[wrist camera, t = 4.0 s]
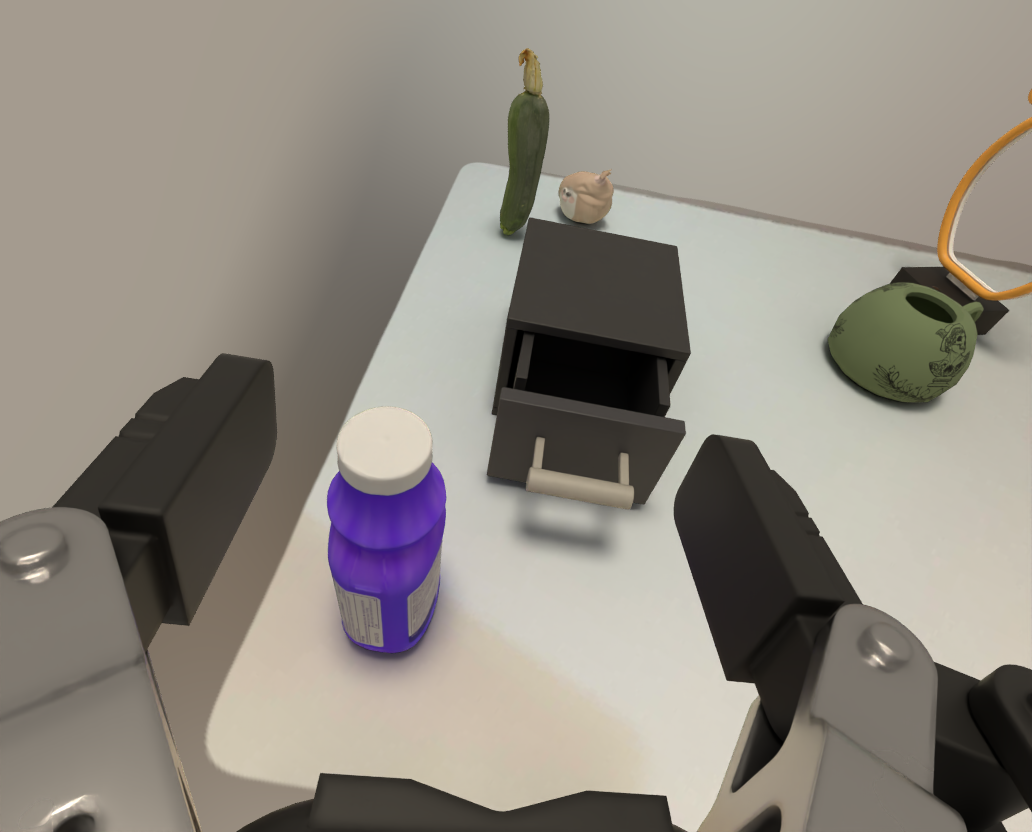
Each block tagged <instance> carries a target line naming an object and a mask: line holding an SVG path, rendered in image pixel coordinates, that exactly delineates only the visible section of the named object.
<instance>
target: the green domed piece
mask: <svg viewBox="0 0 1032 832" xmlns="http://www.w3.org/2000/svg"><path fill="white" fill-rule="evenodd" d="M982 311H983V307H982V305H981V303H979V302H973V303H969V304H967V305H965V306H963V307H962V306H961V305H960V304H959V303H957V302H956V301H954V300H953V299H951V298H949V297H948V296H946V295H945V294H943V293H940V292H938V291H936V290H934V289H931V288H929V287H926V286H922V285H918V284H914V283H899V282H898V283H893V284H887V285H885V286H882V287H879V288H877V289H875V290H873V291H871V292H869V293H866V294H865V295H863V296H862V297H860V298H859V299H857V300H855V301H854V302H853V303H852V304H851V305H850V306H849V307H848V308H847V309H846V310H844V311H843V312H842V313H841V314H840V316H839V318H838V319H837V321H836V323H835V325H834V327H833V329H832V331H831V333H830V336H829V338H828V343H829V348H830V352H831V355H832V357H833V358H834V360H835V362H836V363H837V364H838V366H839V367H840V368H841V370H842V371H843V372H844V374H845V375H847V376H848V377H849V378H850V379H852V380H853V381H854V382H855V383H857V384H858V385H859V386H861V387H863V388H865V389H867V390H869V391H870V392H872V393H874V394H876V395H878V396H881V397H885V398H889V399H892V400H896V401H901V402H929V401H930V400H932V399H934V398H935V397H937V396H939V395H941V394H942V393H944V392H945V391H947V390H948V389H950V388H951V387H953V386H955V385H956V384H957V383H958V381H959V380H960V379H961V377H962V376H963V374H964V373H965V371H966V370H967V369H968V367H969V365H970V362H971V359H972V357H973V354H974V349H975V344H976V340H977V335H978V334H977V329H976V325H975V321H976V320H977V319H978V318H979V317H980V315H981V313H982Z"/></svg>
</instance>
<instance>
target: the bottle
mask: <svg viewBox="0 0 1032 832" xmlns="http://www.w3.org/2000/svg"><path fill="white" fill-rule="evenodd" d="M337 454H338V468H339V472H338V473H337V474H336V476H335V477H334V478H333V480H332V482H331V484H330V487H329V490H328V495H327V508H328V514H329V518H330V520H331V527H330V532H329V542H328V561H329V566H330V569H331V573H332V577H333V581H334V585H335V590H336V594H337V599H338V603H339V608H340V612H341V617H342V625H343V628H344V631H345V633H346V635H347V636H348V638H349V639H350V640H352V641H353V642H354V643H355V644H357V645H359V646H361V647H364V648H365V649H368V650H373V651H379V652H387V653H397V652H402V651H405V650H408V649H410V648H411V647H413V646H414V645H415V644H416V643H417V642H418V641H419V640H420V639H421V637H422V636H423V634H424V633H425V631H426V629H427V627H428V625H429V623H430V620H431V618H432V616H433V613H434V609H435V606H436V602H437V597H438V592H439V585H440V561H441V548H442V537H443V533H444V527H445V518H446V509H445V503H446V490H445V485H444V480H443V478H442V475H441V473H440V471H439V470H438V468H437V467H436V466H435V465H434V464H433V463H432V457H433V456H432V436H431V432H430V430H429V428H428V427H427V425H426V424H425V422H424V421H423V420H422V419H421V418H419V417H418V416H417V415H415V414H414V413H412V412H410V411H408V410H405V409H401V408H397V407H377V408H371V409H368V410H365V411H363V412H361V413H359V414H357V415H355V416H354V417H352V418H351V419H350V420H349V421H348V422H347V423H346V424H345V425H344V426H343V428H342V429H341V431H340V433H339V435H338V439H337Z"/></svg>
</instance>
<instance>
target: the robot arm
mask: <svg viewBox="0 0 1032 832" xmlns="http://www.w3.org/2000/svg"><path fill="white" fill-rule="evenodd" d="M276 439H277V423H276V406H275V388H274V372H273V366H272V364H271V362H270V361H267V360H261V359H255V358H249V357H243V356H237V355H231V354H220V355H219V356H218V357H217V358H216V359H215V360H214V362H213V363H212V364H211V366H210V367H209V368H208V369H207V370H206V372H205V373H204V374H203V375H202V377H201V378H200V379H192V378H186V377H183V378H181V379H179V380H177V381H175V382H174V383H172V384H170V385H168V386H166V387H164V388H162V389H160V390H159V391H157V392H155V393H154V394H153V395H152V396H151V397H150V398H149V399H148V400H147V402H146V403H145V404H144V405H143V406H142V407H141V408H140V409H139V410H138V412H137V413H136V414H135V418H134V419H133V418H131V419H130V421H129V422H128V423H127V424H126V425H125V426H124V427H123V428H122V430H121V431H120V434H119V437H117V436H116V437H115V438H114V439H113V440H112V441H111V442H110V443H109V444H108V445H107V446H106V448H105V449H104V450H103V451H102V452H101V453H100V454H99V455H98V457H97V458H96V459H95V460H94V461H93V462H92V463H91V464H90V466H89V467H88V468H87V469H86V470H85V471H84V472H83V473H82V475H81V476H80V477H79V478H78V479H77V480H76V481H75V482H74V484H73V485H72V486H71V487H70V488H69V489H68V490H67V491H66V492H65V494H64V495H63V496H62V497H61V498H60V499H59V500H58V501H57V503H56V504H55V505H54V506H53V507H52V508H44V509H38V510H34V511H29V512H25V513H22V514H19V515H16V516H13V517H10V518H8V519H6V520H3V521H1V522H0V832H202V828H201V825H200V822H199V818H198V815H197V812H196V809H195V805H194V802H193V799H192V796H191V792H190V789H189V786H188V783H187V780H186V777H185V774H184V770H183V767H182V764H181V760H180V757H179V754H178V751H177V747H176V744H175V740H174V737H173V733H172V730H171V727H170V723H169V720H168V716H167V713H166V710H165V706H164V703H163V700H162V696H161V693H160V690H159V686H158V683H157V679H156V676H155V673H154V669H153V666H152V663H151V660H150V656H149V653H148V650H147V649H148V647H149V645H150V643H151V641H152V639H153V637H154V636H155V634H156V632H157V630H158V629H159V627H160V625H161V623H167V624H177V625H188V626H189V625H190V623H191V621H192V619H193V617H194V615H195V613H196V611H197V609H198V607H199V605H200V603H201V601H202V599H203V597H204V595H205V593H206V591H207V589H208V587H209V585H210V583H211V581H212V579H213V577H214V575H215V573H216V571H217V569H218V567H219V565H220V563H221V561H222V559H223V557H224V555H225V553H226V551H227V549H228V547H229V545H230V543H231V541H232V539H233V537H234V535H235V533H236V531H237V529H238V527H239V525H240V524H241V522H242V519H243V518H244V516H245V514H246V512H247V510H248V508H249V506H250V504H251V502H252V500H253V498H254V496H255V494H256V492H257V490H258V488H259V486H260V484H261V482H262V480H263V478H264V476H265V473H266V472H267V470H268V468H269V466H270V463H271V461H272V458H273V455H274V450H275V445H276ZM808 514H809V513H808V511H807V509H806V508H805V506H804V504H803V503H802V501H801V499H800V498H799V496H798V494H797V493H796V491H795V490H794V489H793V488H792V487H791V486H790V485H789V484H788V483H787V482H786V481H785V480H784V479H783V478H782V477H781V476H779V475H778V474H777V473H776V472H775V471H774V470H770V468H769V466H768V464H767V463H766V461H765V459H764V457H763V456H762V454H761V452H760V450H759V449H758V447H757V445H756V444H755V443H754V442H753V441H751V440H745V439H739V438H733V437H727V436H721V435H714V434H713V435H710V436H709V437H707V438H706V440H705V441H704V443H703V444H702V446H701V448H700V450H699V452H698V454H697V455H696V457H695V459H694V461H693V463H692V465H691V467H690V469H689V470H688V472H687V474H686V476H685V478H684V480H683V482H682V484H681V485H680V487H679V489H678V491H677V494H676V497H675V502H674V520H675V524H676V527H677V530H678V533H679V536H680V539H681V542H682V545H683V548H684V551H685V555H686V558H687V561H688V564H689V567H690V570H691V573H692V576H693V579H694V582H695V585H696V588H697V591H698V594H699V597H700V600H701V603H702V606H703V610H704V613H705V616H706V619H707V622H708V625H709V628H710V631H711V634H712V637H713V640H714V643H715V646H716V649H717V652H718V655H719V658H720V661H721V664H722V668H723V671H724V674H725V677H726V680H727V681H736V682H746V683H755V685H756V688H757V691H758V693H759V696H758V697H757V698H756V699H755V700H754V701H753V702H752V704H751V706H750V708H749V711H748V713H747V716H746V719H745V722H744V724H743V727H742V730H741V733H740V735H739V738H738V741H737V744H736V746H735V749H734V752H733V755H732V758H731V760H730V763H729V766H728V769H727V771H726V774H725V777H724V780H723V782H722V785H721V788H720V791H719V793H718V796H717V798H716V801H715V803H714V805H713V807H712V808H711V810H710V812H709V814H708V815H707V817H706V818H705V819H704V821H703V822H702V824H701V825H700V827H699V829H698V830H697V832H1007V831H1006V829H1005V827H1004V826H1003V824H1002V822H1001V821H1003V820H1005V819H1007V818H1009V817H1011V816H1013V815H1015V814H1017V813H1019V812H1021V811H1023V810H1025V809H1027V808H1029V809H1030V810H1031V812H1032V670H1031V669H1028V668H1025V667H1022V666H1018V665H1010V664H1009V665H1003V666H1001V667H999V668H997V669H996V670H995V671H993V672H992V673H991V674H989V675H988V676H986V677H985V678H984V679H982V680H981V681H980V680H978V679H975V678H973V677H970V676H968V675H965V674H963V673H960V672H958V671H956V670H953V669H951V668H948V667H946V666H943V665H941V664H938V663H936V662H933V659H932V657H931V656H930V654H929V652H928V651H927V649H926V648H925V647H924V645H923V644H922V643H921V641H920V640H919V639H918V638H917V637H916V636H915V635H914V634H913V633H912V632H911V631H910V630H909V629H908V628H907V627H905V626H904V625H903V624H901V623H900V622H899V621H898V620H896V619H895V618H893V617H891V616H890V615H888V614H886V613H884V612H883V611H881V610H878V609H876V608H873V607H870V606H867V605H863V604H862V602H861V600H860V599H859V597H858V595H857V594H856V592H855V590H854V589H853V587H852V585H851V584H850V582H849V580H848V579H847V577H846V575H845V573H844V572H843V570H842V568H841V567H840V565H839V563H838V562H837V560H836V558H835V557H834V555H833V553H832V552H831V550H830V548H829V547H828V545H827V543H826V541H825V540H824V538H823V537H821V536H819V533H820V531H819V530H818V528H817V526H816V525H815V523H814V521H813V520H812V518H809V517H808ZM237 832H687V831H685V830H683V829H682V828H680V827H678V826H676V825H673V824H672V821H671V816H670V811H669V806H668V801H667V797H666V796H660V795H645V794H630V793H615V792H599V791H584V792H580V793H576V794H572V795H568V796H564V797H561V798H557V799H553V800H549V801H545V802H541V803H538V804H534V805H530V806H526V807H522V808H518V809H515V810H511V811H504V812H502V811H495V810H491V809H489V808H486V807H483V806H481V805H478V804H475V803H473V802H470V801H467V800H465V799H462V798H459V797H457V796H454V795H452V794H449V793H446V792H444V791H441V790H438V789H436V788H433V787H430V786H428V785H425V784H422V783H420V782H417V781H415V780H412V779H401V778H386V777H371V776H355V775H340V774H325V773H320V776H319V780H318V785H317V789H316V793H315V797H314V799H311V800H307V801H303V802H299V803H295V804H292V805H290V806H287V807H285V808H282V809H279V810H276V811H274V812H271V813H269V814H267V815H265V816H263V817H261V818H259V819H257V820H256V821H254V822H252V823H250V824H248V825H246V826H244V827H243V828H241V829H240V830H238V831H237Z"/></svg>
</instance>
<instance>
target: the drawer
mask: <svg viewBox="0 0 1032 832" xmlns="http://www.w3.org/2000/svg"><path fill="white" fill-rule="evenodd" d="M669 408H670V395H669V383H668V371H667V359H666V357H660V356H655V355H650V354H645V353H639V352H634V351H629V350H624V349H618V348H613V347H608V346H603V345H597V344H592V343H587V342H582V341H577V340H571V339H566V338H561V337H556V336H550V335H545V334H540V333H535V332H529V331H523V336H522V341H521V347H520V352H519V357H518V362H517V368H516V373H515V379H514V384H513V389H512V388H506V387H502V390H501V395H500V401H499V406H498V412H497V418H496V424H495V430H494V435H493V441H492V447H491V453H490V458H489V464H488V470H487V475H488V476H493V477H498V478H504V479H509V480H515V481H520V482H525V483H526V491H530V492H535V493H541V494H546V495H552V496H557V497H562V498H568V499H573V500H579V501H584V502H590V503H595V504H600V505H606V506H611V507H617V508H622V509H627V510H628V509H630V508H631V506H632V503H633V502H634V503H639V504H645V503H646V501H647V499H648V498H649V496H650V494H651V492H652V491H653V489H654V487H655V486H656V484H657V482H658V481H659V479H660V477H661V475H662V474H663V472H664V470H665V469H666V467H667V465H668V463H669V462H670V460H671V458H672V457H673V455H674V453H675V452H676V450H677V448H678V446H679V445H680V443H681V441H682V440H683V438H684V436H685V434H686V431H685V422H684V421H681V420H676V419H671V418H665V415H666V413H667V411H668V409H669Z"/></svg>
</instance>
